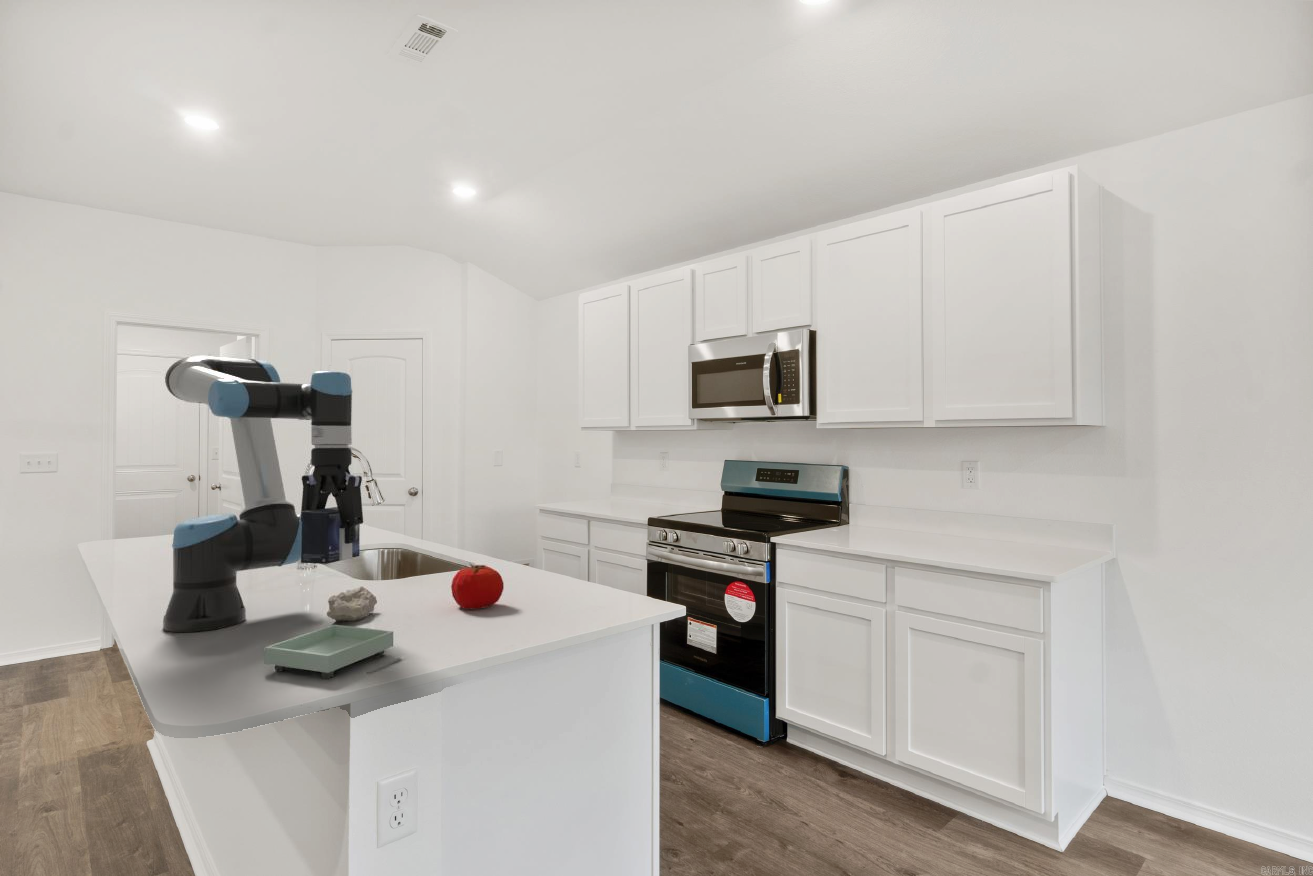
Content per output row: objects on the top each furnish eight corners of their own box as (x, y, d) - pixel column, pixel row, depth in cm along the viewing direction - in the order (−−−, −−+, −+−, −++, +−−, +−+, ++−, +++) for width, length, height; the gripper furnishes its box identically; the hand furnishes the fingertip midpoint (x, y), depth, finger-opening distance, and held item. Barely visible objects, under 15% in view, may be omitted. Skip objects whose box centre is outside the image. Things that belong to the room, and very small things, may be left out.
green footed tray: (264, 672, 118) (264, 647, 118) (334, 647, 132) (334, 624, 132) (328, 682, 113) (328, 656, 113) (393, 655, 127) (393, 631, 127)
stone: (377, 630, 157) (386, 587, 162) (350, 616, 146) (361, 571, 151) (345, 630, 158) (355, 588, 163) (317, 617, 147) (328, 572, 152)
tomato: (461, 601, 170) (461, 560, 170) (510, 602, 169) (509, 561, 169) (440, 612, 159) (440, 568, 159) (492, 614, 158) (492, 569, 158)
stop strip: (366, 673, 117) (366, 671, 117) (398, 659, 125) (398, 658, 125) (370, 673, 117) (370, 672, 117) (402, 659, 125) (402, 658, 125)
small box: (328, 564, 135) (327, 511, 135) (299, 563, 136) (299, 511, 136) (361, 556, 145) (361, 506, 145) (334, 555, 146) (334, 506, 146)
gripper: (279, 446, 140) (279, 558, 140) (355, 447, 134) (355, 564, 134) (309, 446, 147) (309, 552, 147) (383, 446, 141) (383, 558, 141)
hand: (331, 558), depth 141 cm, fingers closed on small box, 7 cm apart
